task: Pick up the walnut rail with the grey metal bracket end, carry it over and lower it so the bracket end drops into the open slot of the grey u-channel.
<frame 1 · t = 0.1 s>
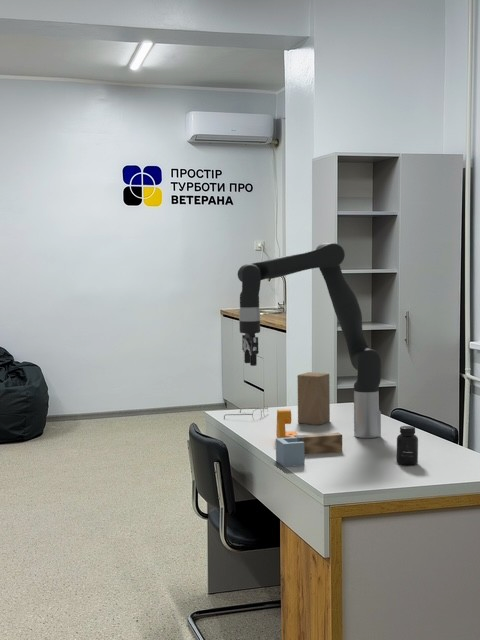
hand: (250, 364, 295), 29 cm above the table, fingers open, 8 cm apart
grey u-channel: (290, 462, 267), on the table
rail: (318, 452, 282), on the table
wooden block: (313, 422, 336), on the table
bracket: (287, 442, 300), on the table
supplement bottle: (407, 464, 264), on the table
eyeglasses: (247, 418, 351), on the table
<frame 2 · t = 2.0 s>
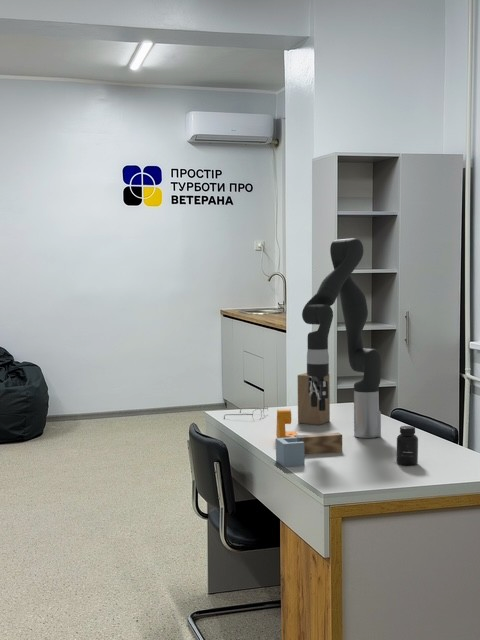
hand: (317, 408, 281), 15 cm above the table, fingers open, 8 cm apart
nothing on the table moved.
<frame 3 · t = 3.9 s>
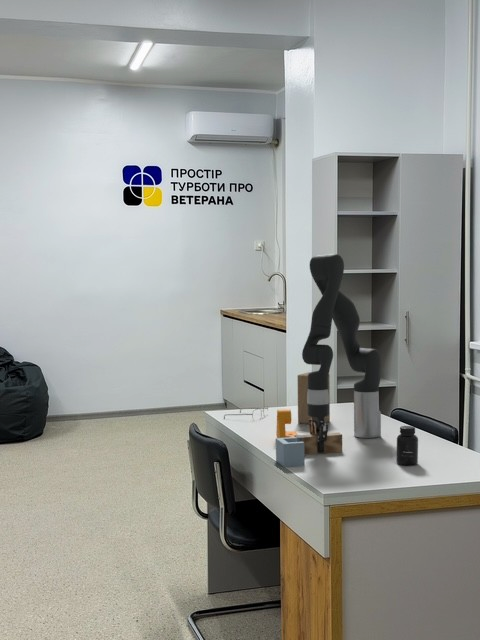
hand: (318, 450, 282), 0 cm above the table, fingers closed on rail, 4 cm apart
rail: (318, 452, 282), on the table, touching gripper
everything else where it was.
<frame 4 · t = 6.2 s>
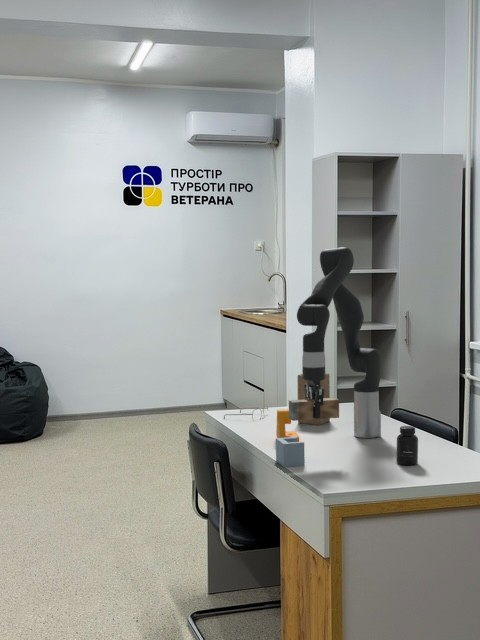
hand: (314, 416, 268), 15 cm above the table, fingers closed on rail, 4 cm apart
rail: (314, 418, 268), point 14 cm above the table, touching gripper
everything else where it was.
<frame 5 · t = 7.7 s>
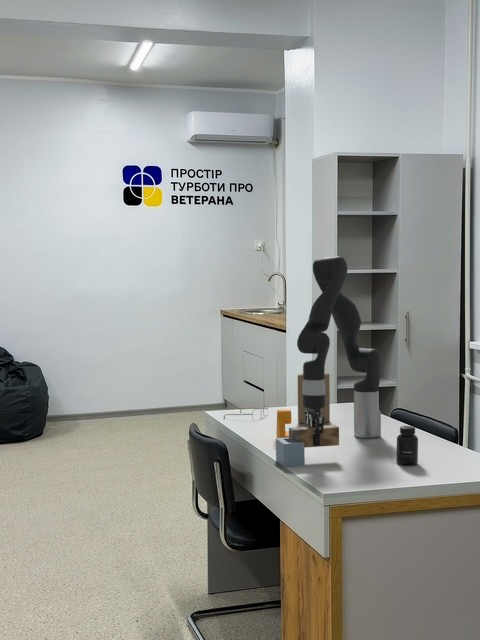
hand: (314, 444, 269), 6 cm above the table, fingers closed on rail, 4 cm apart
rail: (314, 445, 269), point 5 cm above the table, touching gripper
everything else where it was.
when the fingers open (1 cm above the table, at t = 8.9 s): rail stays where it is, on the table.
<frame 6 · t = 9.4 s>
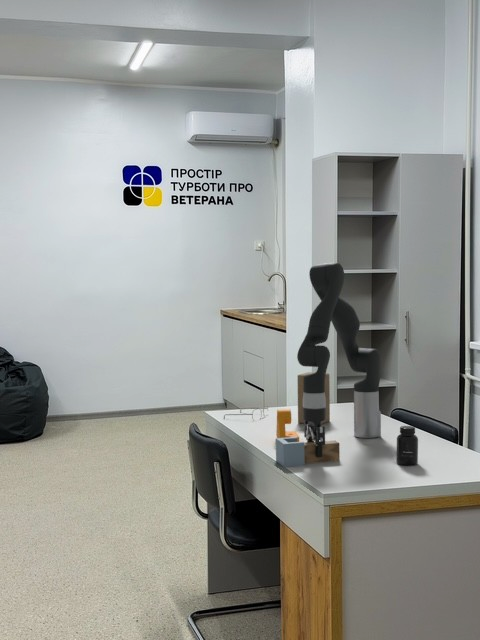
hand: (314, 454, 269), 2 cm above the table, fingers open, 8 cm apart
rail: (314, 461, 269), on the table
everything else where it was.
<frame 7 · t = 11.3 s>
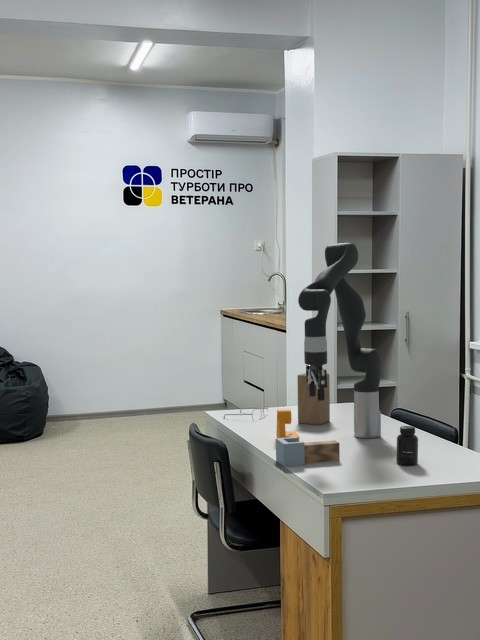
hand: (316, 398, 270), 21 cm above the table, fingers open, 8 cm apart
nothing on the table moved.
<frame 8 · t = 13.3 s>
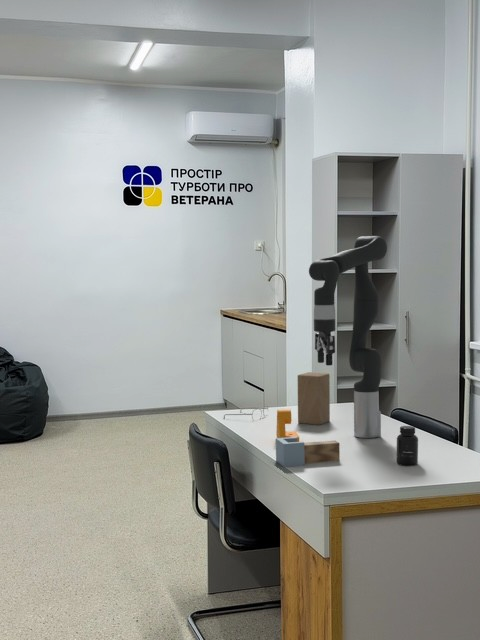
hand: (324, 364, 285), 30 cm above the table, fingers open, 8 cm apart
nothing on the table moved.
at the end: rail 0.5 cm from the target spot on the table beside the grey u-channel, on the table; rail tilted 0°; the gripper is holding nothing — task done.
